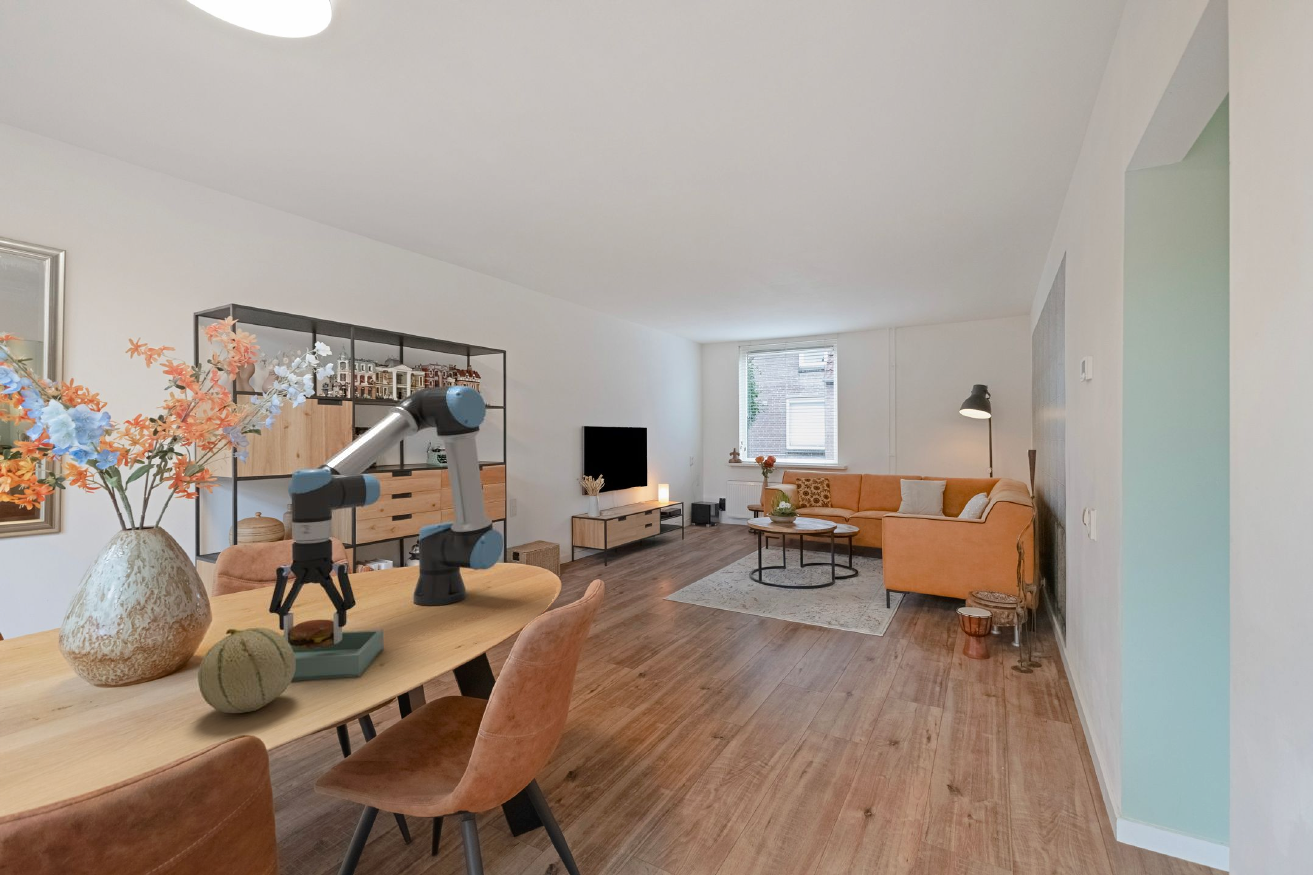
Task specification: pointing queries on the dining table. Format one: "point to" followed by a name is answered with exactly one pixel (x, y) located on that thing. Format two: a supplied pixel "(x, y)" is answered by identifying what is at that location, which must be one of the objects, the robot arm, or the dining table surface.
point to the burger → (312, 634)
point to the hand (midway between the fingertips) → (313, 642)
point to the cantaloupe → (246, 670)
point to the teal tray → (339, 656)
